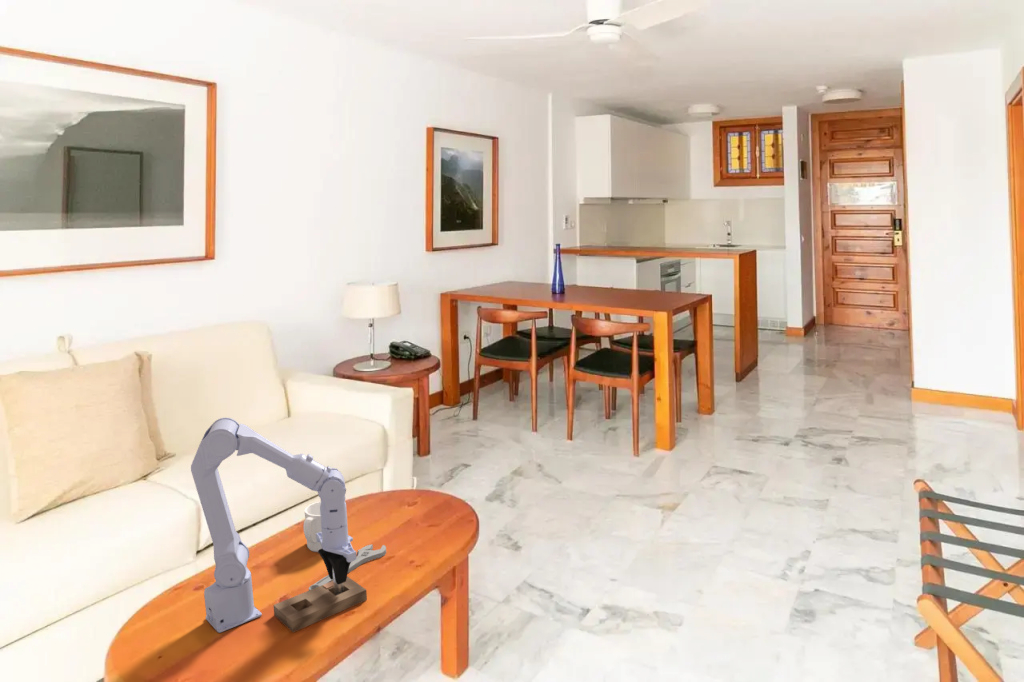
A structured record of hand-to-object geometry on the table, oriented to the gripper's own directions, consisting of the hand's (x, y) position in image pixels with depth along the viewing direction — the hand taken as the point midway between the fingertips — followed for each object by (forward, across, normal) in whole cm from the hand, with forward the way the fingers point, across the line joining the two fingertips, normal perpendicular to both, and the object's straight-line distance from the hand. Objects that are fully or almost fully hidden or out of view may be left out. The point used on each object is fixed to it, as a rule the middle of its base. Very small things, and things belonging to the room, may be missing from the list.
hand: (338, 579), depth 158 cm
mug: (+5, +27, -10) cm, 29 cm away
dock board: (+5, 0, +4) cm, 7 cm away
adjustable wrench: (+6, +12, -9) cm, 15 cm away
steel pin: (+4, 0, 0) cm, 4 cm away
